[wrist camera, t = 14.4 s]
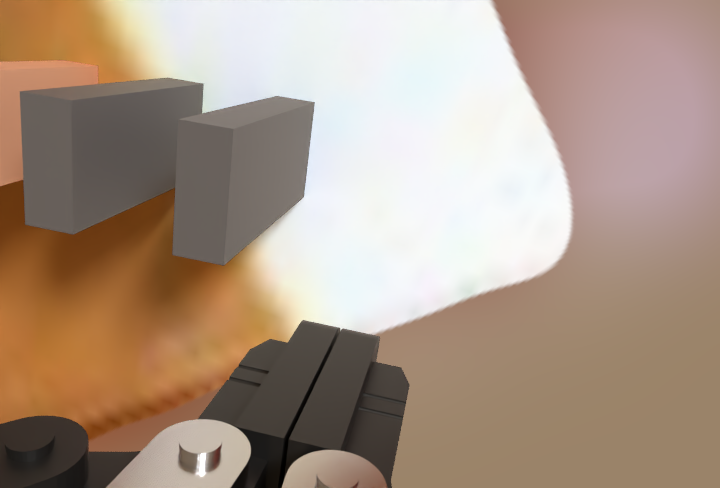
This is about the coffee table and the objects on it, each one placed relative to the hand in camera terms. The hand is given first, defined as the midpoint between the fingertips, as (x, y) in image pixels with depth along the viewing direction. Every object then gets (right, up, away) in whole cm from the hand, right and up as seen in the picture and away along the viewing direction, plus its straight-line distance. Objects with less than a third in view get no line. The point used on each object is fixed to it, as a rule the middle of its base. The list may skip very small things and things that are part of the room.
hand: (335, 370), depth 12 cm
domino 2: (-9, +9, +21) cm, 24 cm away
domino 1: (-3, +7, +20) cm, 22 cm away
